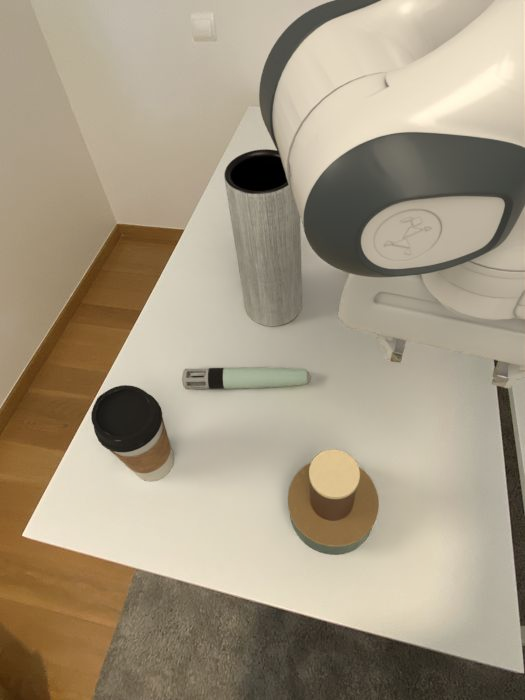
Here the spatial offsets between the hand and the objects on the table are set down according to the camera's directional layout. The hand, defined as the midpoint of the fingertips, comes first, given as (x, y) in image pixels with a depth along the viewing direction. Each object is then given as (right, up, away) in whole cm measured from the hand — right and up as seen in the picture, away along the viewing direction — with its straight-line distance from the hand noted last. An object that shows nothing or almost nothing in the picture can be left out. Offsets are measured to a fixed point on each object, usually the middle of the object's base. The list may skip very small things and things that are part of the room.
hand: (446, 368), depth 46 cm
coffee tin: (-8, -20, +20) cm, 29 cm away
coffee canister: (-8, -17, +16) cm, 25 cm away
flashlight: (-19, -3, +33) cm, 39 cm away
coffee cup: (-32, -15, +26) cm, 44 cm away
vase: (-15, +9, +42) cm, 46 cm away
